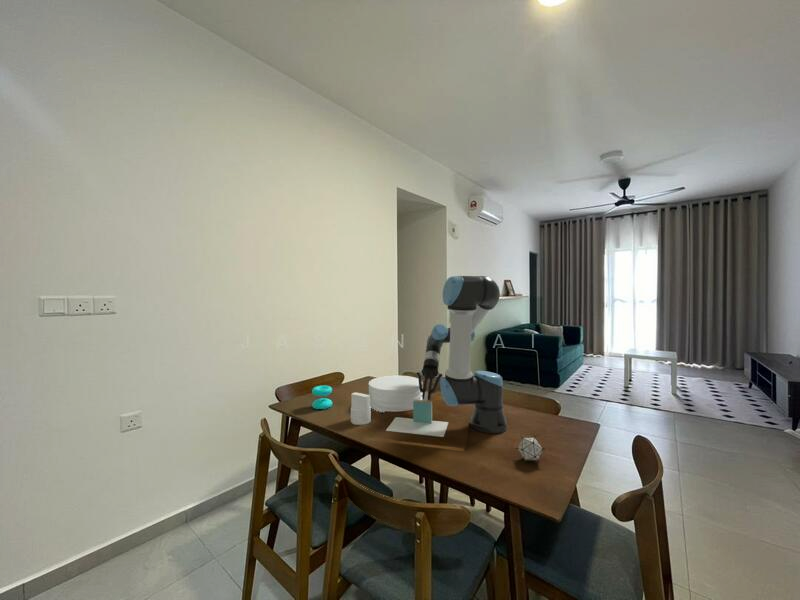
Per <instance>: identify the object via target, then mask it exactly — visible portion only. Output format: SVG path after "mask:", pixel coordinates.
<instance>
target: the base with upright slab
mask: <svg viewBox="0 0 800 600" xmlns="http://www.w3.org/2000/svg"><path fill="white" fill-rule="evenodd" d="M350 395H351V403H350V404H351V407H350V423H352V424H353V425H356V426H357V425H358V426H361V425H367V424H369V423H371V421H372V419H371V418H372V417H371V415H372V414H371V413H372V411H371V410H372V409H371V407H370V395H369V394H365V393H361V392H353V393H351V394H350Z"/></svg>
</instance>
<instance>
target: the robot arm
mask: <svg viewBox="0 0 800 600" xmlns="http://www.w3.org/2000/svg"><path fill="white" fill-rule="evenodd" d="M500 292H501V291H500V288H499V286H498V283H497V282H496V281H495V280H494V279H493V278H491V277H489V276H486V275H485V276H484V275H456V276H455V275H454V276H450V277H448V278H447V279H446V281H445V283H444V286H443V289H442V301H443V304H444V305H445V306H446V307H447V310H448V311H449V312H450V326H449V327H447V326H446V325H444V324H441V323H438V324H435V325H434V326H433V328H432V329H431V333H430V335H428V338H427V341H426V347H425V348H426V349H425V354H424V360H423V367H422V369H421V371H420V372H419V371H418V372H417V371H416V376H417V378H418V380H419V389H420V392H422V393H423V394H422V399H423V400H424V401H431V399H432V394H436V392H437V390H438V387H439V388H440V393H441V397H442V399H443V401H444V403H445V404H446V405H447V406H452V407H454V406H455V407H456V406H457V407H458V406H467V405H474V410H473V412H472V415H471V418H470V426H471V428H472V429H474V430H476V431H477V432H481V433H486V434H500V433H503V432H506V431H507V430H508V421H507V418H506V415H505V411H504V409H503V408H504V403H503V402H504V400H503V399H504V398H503V397H504V391H503V389H504V383H503V382H504V381H503V377H502V376H501V375H500V374H498V373H495V372H491V371H487V370H486V371H485V370H476V371H475V372H474V373H473V372H472V370H471V354H472V353H471V350H472V342H473V341H474V340H475V337H476V336H475V334H476V333H475V330H476V329H477V328H478V326H479V325H480V324H481V322H482V321H483V319H484V318H485V316H487V314H488V313H489V311H490V310H493V309H494V308H496V305H497V304H498V303H499V301H500V297H501V296H500V295H501V293H500ZM444 344H449V356H448V357H449V358H448V359H449V360H448V368H447V370H445V373H444V374H445V375H443V373H440V372H439V367H440V366H439V365H440V357H441V356H440V355H441V350H442V347H443V345H444ZM422 377H424V381H423V380H422ZM435 378H436V380H435V382H434V379H435ZM422 382H423V385H422ZM428 382H429V384H428ZM433 384H434V385H433ZM422 387H423V389H422ZM427 389H428V390H427Z"/></svg>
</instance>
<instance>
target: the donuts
mask: <svg viewBox="0 0 800 600" xmlns="http://www.w3.org/2000/svg"><path fill="white" fill-rule="evenodd" d="M311 392H312V393H311V394H312V395H314V396H316V397H322V398H317V399H315V400H314V401H313V402H312V403H311V406H312V408H313V409H315V410H318V409H323V410H327V408H328V409H330V408H331V407H332V406H333V401H332V400H331V399H329V398H323V397H326V396H329V395H330V394H331V393H333V388H332V387H331V386H329V385H317V386H314V387H313V388H312V389H311ZM329 407H330V408H329Z"/></svg>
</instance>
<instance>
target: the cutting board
mask: <svg viewBox="0 0 800 600" xmlns="http://www.w3.org/2000/svg"><path fill="white" fill-rule="evenodd" d="M448 425H449V421H439V420H432V423H421V422H413V418H408V417H396V416H395V417H394V419H393V420H392V422H390V424H389V426H388V427H387V428H386V430H385V431H386V432H395V433H405V434H414V435H421V436H422V435H423V436H432V437H441V438H444V437H445V433H446V432H447V428H448Z"/></svg>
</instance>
